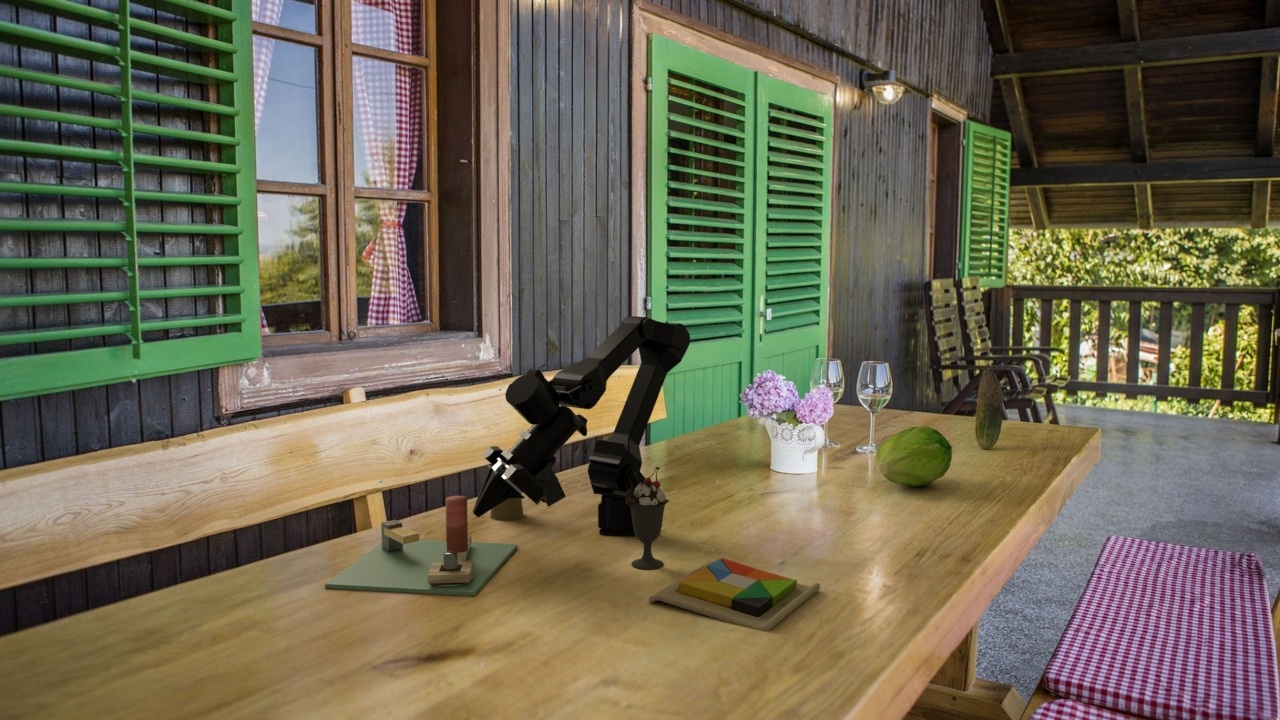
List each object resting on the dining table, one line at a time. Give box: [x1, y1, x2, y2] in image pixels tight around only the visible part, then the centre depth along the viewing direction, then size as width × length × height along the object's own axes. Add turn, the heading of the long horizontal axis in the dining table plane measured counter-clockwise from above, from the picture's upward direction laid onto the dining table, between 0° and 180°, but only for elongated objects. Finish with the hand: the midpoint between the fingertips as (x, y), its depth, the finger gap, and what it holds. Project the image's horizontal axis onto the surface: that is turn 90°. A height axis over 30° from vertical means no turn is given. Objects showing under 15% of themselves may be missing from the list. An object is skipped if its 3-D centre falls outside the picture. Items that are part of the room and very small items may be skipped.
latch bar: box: [428, 495, 473, 583], centre depth 141 cm, size 19×6×9 cm, turn 5°
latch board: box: [324, 539, 518, 597], centre depth 143 cm, size 22×22×1 cm
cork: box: [489, 464, 525, 522], centre depth 170 cm, size 6×6×11 cm
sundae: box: [626, 466, 670, 571], centre depth 143 cm, size 7×7×15 cm
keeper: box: [380, 519, 420, 553], centre depth 147 cm, size 8×3×5 cm, turn 41°
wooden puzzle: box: [648, 557, 821, 632], centre depth 130 cm, size 18×19×4 cm
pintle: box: [429, 551, 474, 588], centre depth 135 cm, size 6×6×5 cm
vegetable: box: [974, 367, 1004, 450], centre depth 230 cm, size 6×6×20 cm
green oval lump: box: [875, 426, 953, 488], centre depth 191 cm, size 14×20×12 cm
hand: (475, 515), depth 143 cm, fingers closed
